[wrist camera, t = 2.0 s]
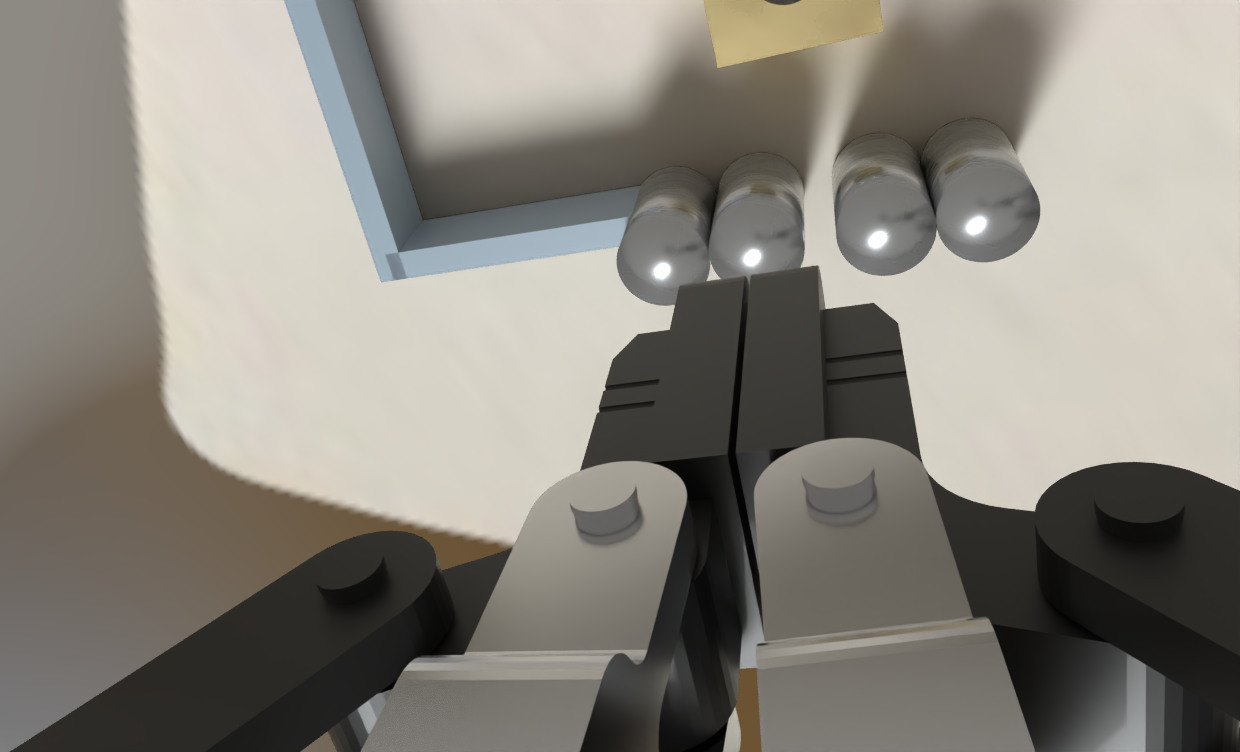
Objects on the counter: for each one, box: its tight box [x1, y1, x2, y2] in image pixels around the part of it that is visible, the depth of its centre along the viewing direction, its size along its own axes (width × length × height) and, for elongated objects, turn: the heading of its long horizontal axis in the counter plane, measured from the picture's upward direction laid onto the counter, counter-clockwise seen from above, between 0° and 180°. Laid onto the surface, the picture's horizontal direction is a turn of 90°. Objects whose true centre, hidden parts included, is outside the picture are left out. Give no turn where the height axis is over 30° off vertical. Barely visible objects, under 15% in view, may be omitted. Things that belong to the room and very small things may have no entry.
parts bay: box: [284, 0, 641, 282], centre depth 37 cm, size 10×16×3 cm, turn 12°
